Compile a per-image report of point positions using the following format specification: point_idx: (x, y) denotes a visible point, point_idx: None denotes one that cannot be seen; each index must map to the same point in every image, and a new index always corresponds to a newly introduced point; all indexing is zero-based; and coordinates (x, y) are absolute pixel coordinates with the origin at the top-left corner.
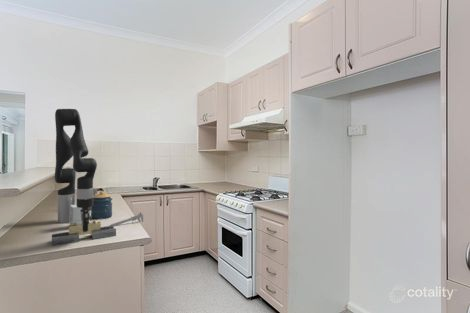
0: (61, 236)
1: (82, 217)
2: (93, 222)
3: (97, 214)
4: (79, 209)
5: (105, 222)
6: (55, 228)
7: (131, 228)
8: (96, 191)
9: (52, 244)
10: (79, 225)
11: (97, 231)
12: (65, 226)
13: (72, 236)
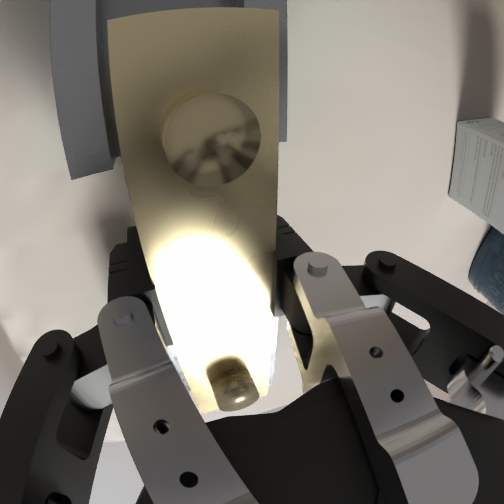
0: None
1: (137, 448)
2: (219, 382)
3: (500, 250)
4: None
5: (437, 275)
6: (494, 51)
7: (264, 397)
8: None
9: None
10: (138, 231)
11: None
12: (497, 99)
13: (58, 99)
